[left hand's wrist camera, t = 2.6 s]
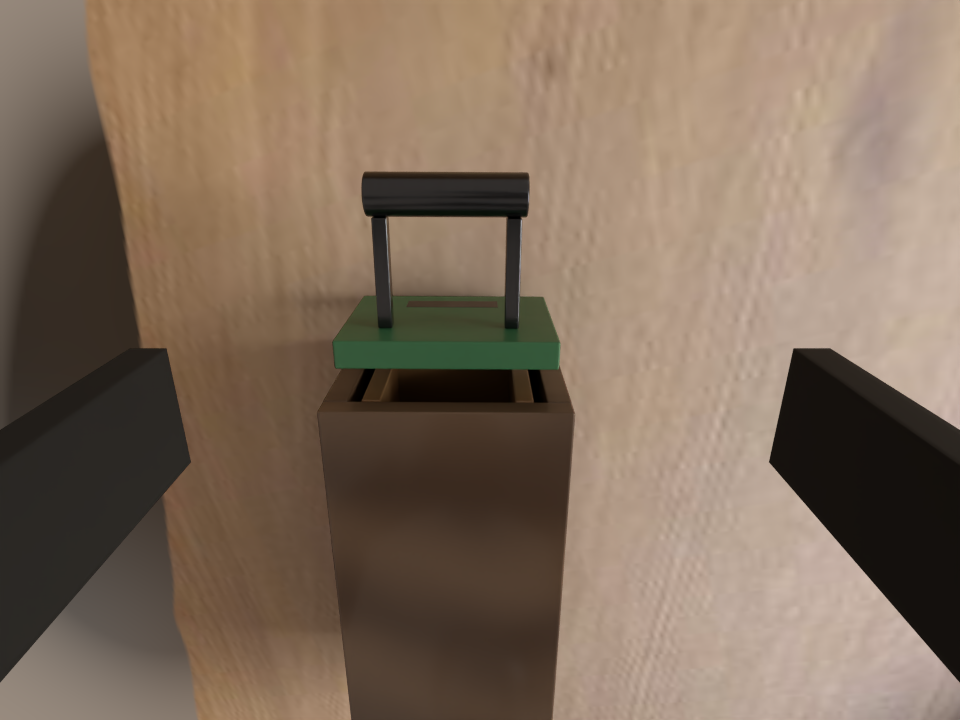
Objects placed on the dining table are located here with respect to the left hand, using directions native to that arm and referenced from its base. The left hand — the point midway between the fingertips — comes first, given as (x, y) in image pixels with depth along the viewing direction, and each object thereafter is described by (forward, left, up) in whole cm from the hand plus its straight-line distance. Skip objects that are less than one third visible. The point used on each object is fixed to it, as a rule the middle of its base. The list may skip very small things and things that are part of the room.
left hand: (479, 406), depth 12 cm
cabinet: (+15, +2, -18) cm, 24 cm away
